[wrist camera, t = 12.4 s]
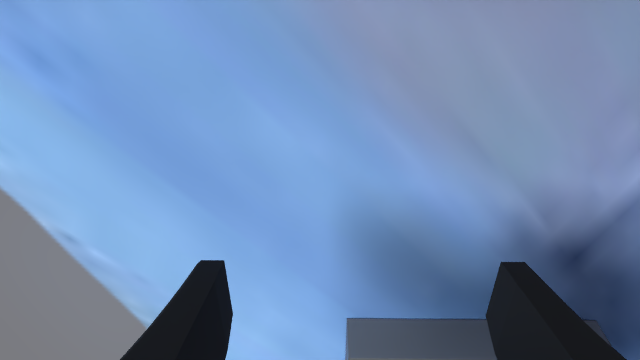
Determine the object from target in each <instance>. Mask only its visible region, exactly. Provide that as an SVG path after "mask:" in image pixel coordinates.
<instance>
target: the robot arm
mask: <svg viewBox="0 0 640 360" xmlns="http://www.w3.org/2000/svg"><path fill="white" fill-rule="evenodd" d="M232 316H233V312H232V306H231V300H230V294H229V287H228V281H227V275H226V269H225V263H224V261H223V260H201V261H200V262H199V263H198V264H197V265H196V266H195V268H194V269H193V271H192V272H191V273H190V275H189V276H188V278H187V279H186V280H185V282H184V283H183V284H182V286H181V287H180V288H179V290H178V291H177V292H176V294H175V295H174V296H173V298H172V299H171V300H170V302H169V303H168V304H167V305H166V307H165V308H164V309H163V310H162V312H161V313H160V314H159V315H158V317H157V318H156V319H155V320H154V322H153V323H152V324H151V325H150V326H149V328H148V329H147V330H146V331H145V332H144V333H143V335H142V336H141V337H140V338H139V339H138V340H137V341H136V342H135V343H134V345H133V346H132V347H131V348H130V349H129V350H128V351H127V353H126V354H125V355H124V356H123V357H122V358H121V359H120V360H225V358H226V354H227V350H228V343H229V337H230V330H231V323H232ZM486 319H487V323H488V327H489V332H490V336H491V340H492V344H493V348H494V352H495V355H496V358H497V360H626V359H625V358H624V357H623V356H622V355H621V354H619V353H618V352H617V351H616V350H615V349H614V348H612V347H611V346H610V345H609V344H608V343H607V342H606V341H605V340H603V339H602V338H601V337H600V336H599V335H598V334H597V333H596V332H595V331H594V330H593V329H592V328H590V327H589V326H588V325H587V324H586V323H585V322H584V321H583V320H582V319H581V318H580V317H579V316H578V315H577V314H576V313H575V312H574V311H573V310H572V309H571V308H570V307H569V306H568V305H567V304H566V303H565V302H564V301H563V300H562V299H561V298H560V297H559V296H558V295H557V294H556V293H555V292H554V291H553V290H552V289H551V288H550V287H549V286H548V285H547V284H546V283H545V282H544V281H543V280H542V279H541V278H540V277H539V276H538V275H537V274H536V273H535V272H534V271H533V270H532V269H531V268H530V267H529V266H528V265H527V264H526V263H525V262H501V264H500V267H499V271H498V274H497V278H496V281H495V285H494V288H493V292H492V296H491V299H490V303H489V306H488V310H487V313H486Z"/></svg>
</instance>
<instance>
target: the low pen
mask: <svg viewBox="0 0 640 360" xmlns="http://www.w3.org/2000/svg"><path fill="white" fill-rule="evenodd" d="M583 321H584V322H585V323H586V324H587V325H588V326H589V327H590V328H592V329H593V330H594V331H595V332H596V333H597V334H598V335H599V336H600V337H601V338H602V339H603V340H605V341H606V342H607V343H608V344H609V345H610V346H611V344H610V343H609V341H608V339H607V338H606V336H605V334H604V333H603V331H602V329H601V328H600V326H599V324H598V323H597V321H591V320H583ZM611 347H612V346H611ZM345 360H497V358H496V355H495V352H494V348H493V344H492V340H491V336H490V332H489V327H488V323H487V320H465V319H347V329H346V356H345Z"/></svg>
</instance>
